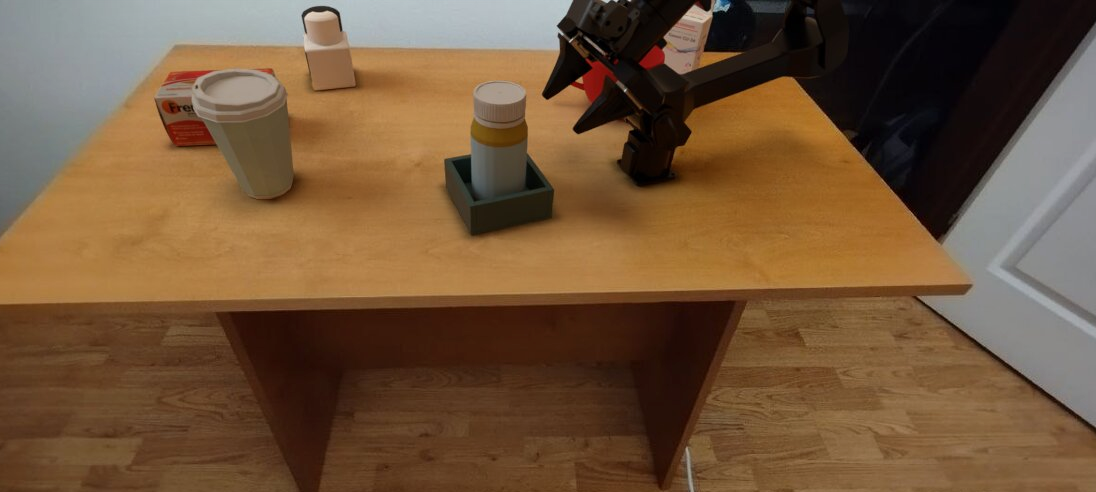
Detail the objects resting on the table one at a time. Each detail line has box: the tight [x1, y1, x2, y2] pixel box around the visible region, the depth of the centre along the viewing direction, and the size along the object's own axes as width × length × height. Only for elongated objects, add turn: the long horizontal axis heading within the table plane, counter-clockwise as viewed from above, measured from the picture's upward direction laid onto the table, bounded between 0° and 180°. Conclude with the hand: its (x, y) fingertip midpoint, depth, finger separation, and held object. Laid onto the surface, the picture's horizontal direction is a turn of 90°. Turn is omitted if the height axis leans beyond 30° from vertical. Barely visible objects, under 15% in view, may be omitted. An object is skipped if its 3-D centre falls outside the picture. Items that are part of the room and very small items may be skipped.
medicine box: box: [153, 67, 276, 147], centre depth 85 cm, size 15×8×8 cm, turn 99°
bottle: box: [470, 80, 529, 201], centre depth 72 cm, size 7×7×15 cm
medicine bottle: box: [301, 5, 356, 91], centre depth 97 cm, size 7×7×12 cm
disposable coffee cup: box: [192, 67, 295, 200], centre depth 73 cm, size 11×11×15 cm
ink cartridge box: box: [662, 0, 717, 74], centre depth 103 cm, size 9×5×15 cm, turn 58°
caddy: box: [443, 152, 555, 236], centre depth 76 cm, size 11×11×4 cm
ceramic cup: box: [570, 46, 665, 120], centre depth 94 cm, size 13×17×10 cm
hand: (558, 114), depth 72 cm, fingers open, 9 cm apart
